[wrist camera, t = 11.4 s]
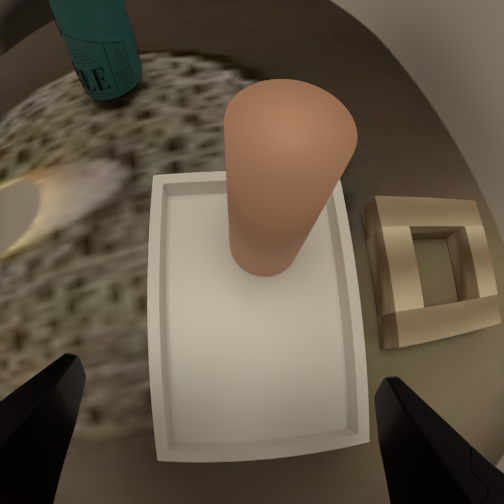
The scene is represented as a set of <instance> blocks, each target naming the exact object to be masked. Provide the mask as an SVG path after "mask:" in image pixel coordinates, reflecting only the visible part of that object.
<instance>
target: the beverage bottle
mask: <svg viewBox="0 0 504 504" xmlns="http://www.w3.org/2000/svg"><path fill="white" fill-rule="evenodd" d="M49 2H50V5H51V8H52V11H53V12H54V15H55V17H54V18H55V20H56V21H54V22H57V24H58V26H57V25H56V26H57V27H58V29H59V30H60V33H61V34H62V35H60V36H62V37H63V39H64V41H65V44H66V46H67V49H68V52H69V53H70V54H69V55H70V56H71V58H72V60H73V61H72V63H74V64H73V65H74V66H75V68H76V70H75V71H77V72H76V73H77V76H78V77H79V76H80V77H79V79H80V78H81V79H80V82H81V83H82V84H81V85H83V87H84V88H85V89H86V90H85V91H86V92H87V93H88V94H89V96H91V97H92V98H94V99H96V100H110V99H114V98H117V97H119V96H122V95H123V94H125V93H127V92H128V91H130V90H131V89H132V88H134V87H135V86H136V84H137V83H138V82H139V80H140V78H141V71H142V69H143V66H142V65H141V64H140V62H141V61H140V60H139V58H140V57H138V55H139V52H138V53H137V50H138V49H136V46H137V45H135V42H136V41H134V38H135V37H133V34H134V33H132V29H133V27H132V29H131V26H132V25H130V21H129V17H130V16H129V17H128V13H127V10H126V5H125V0H49ZM55 24H56V23H55ZM133 32H134V30H133ZM134 36H135V35H134ZM138 51H139V50H138ZM74 66H73V67H74ZM141 66H142V69H141ZM75 68H74V69H75ZM87 93H86V94H87Z"/></svg>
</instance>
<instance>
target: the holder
mask: <svg viewBox="0 0 504 504" xmlns="http://www.w3.org/2000/svg"><path fill="white" fill-rule="evenodd" d="M361 216H362V221H363V226H364V231H365V236H366V242H367V248H368V254H369V260H370V266H371V273H372V279H373V286H374V294H375V301H376V310H377V318H378V327H379V338H380V349H389V348H400V347H406V346H411V345H415V344H420V343H425V342H429V341H434V340H438V339H443V338H447V337H451V336H455V335H459V334H463V333H467V332H471V331H474V330H478V329H482V328H485V327H489V326H492V325H496V324H499V323H501V315H500V307H499V300H498V294H497V288H496V282H495V277H494V271H493V266H492V262H491V257H490V253H489V248H488V244H487V240H486V236H485V232H484V228H483V225H482V221H481V218H480V214H479V211H478V207H477V204H476V201H472V200H457V199H441V198H421V197H396V196H374V197H373V199H372V200H371V201H370V202H369V203H368V204H367V206H366V207H365V208H364V209H363V210H362V211H361ZM431 238H446V239H447V243H448V248H449V252H450V257H451V262H452V267H453V272H454V277H455V283H456V289H457V295H458V302H455V303H449V304H443V305H437V306H431V307H425V308H424V304H423V297H422V290H421V284H420V278H419V272H418V266H417V261H416V256H415V250H414V246H413V241H412V239H431Z"/></svg>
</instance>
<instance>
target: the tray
mask: <svg viewBox="0 0 504 504" xmlns="http://www.w3.org/2000/svg"><path fill="white" fill-rule="evenodd" d="M147 312H148V354H149V375H150V390H151V404H152V415H153V426H154V435H155V444H156V452H157V460H158V461H169V462H234V461H251V460H263V459H274V458H283V457H291V456H299V455H306V454H312V453H318V452H324V451H330V450H335V449H340V448H345V447H350V446H354V445H359V444H363V443H367V442H369V403H368V382H367V367H366V354H365V342H364V331H363V321H362V312H361V303H360V295H359V287H358V280H357V273H356V266H355V259H354V253H353V246H352V240H351V234H350V229H349V223H348V217H347V212H346V207H345V202H344V196H343V191H342V187H341V182H340V179H339V181H338V183H337V185H336V186H335V188H334V190H333V192H332V194H331V196H330V197H329V199H328V201H327V203H326V205H325V206H324V208H323V210H322V212H321V214H320V215H319V217H318V219H317V221H316V223H315V224H314V226H313V228H312V230H311V231H310V233H309V235H308V237H307V239H306V240H305V242H304V244H303V246H302V247H301V249H300V251H299V253H298V254H297V256H296V258H295V259H294V261H293V263H292V264H291V265H290V266H289V267H288V268H287V269H286V270H284V271H283V272H281V273H279V274H277V275H273V276H265V277H264V276H256V275H253V274H250V273H248V272H246V271H245V270H243V269H242V268H241V267H240V266H239V265H238V264H237V263H236V261H235V260H234V258H233V256H232V254H231V251H230V242H229V223H228V204H227V183H226V171H219V172H197V173H180V174H165V175H153V185H152V197H151V211H150V228H149V249H148V291H147Z"/></svg>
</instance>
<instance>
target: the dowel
mask: <svg viewBox="0 0 504 504" xmlns="http://www.w3.org/2000/svg"><path fill="white" fill-rule="evenodd" d="M224 135H225V160H226V183H227V204H228V223H229V242H230V251H231V254H232V256H233V258H234V260H235V261H236V263H237V264H238V265H239V266H240V267H241V268H242V269H243V270H245V271H246V272H248V273H250V274H253V275H256V276H264V277H265V276H273V275H277V274H279V273H281V272H283V271H284V270H286V269H287V268H288V267H289V266H290V265H291V264H292V263H293V261H294V259H295V258H296V256H297V254H298V253H299V251H300V249H301V247H302V246H303V244H304V242H305V240H306V239H307V237H308V235H309V233H310V231H311V230H312V228H313V226H314V224H315V223H316V221H317V219H318V217H319V215H320V214H321V212H322V210H323V208H324V206H325V205H326V203H327V201H328V199H329V197H330V196H331V194H332V192H333V190H334V188H335V186H336V185H337V183H338V181H339V179H340V177H341V175H342V173H343V172H344V170H345V168H346V166H347V164H348V162H349V160H350V158H351V157H352V155H353V153H354V150H355V148H356V144H357V129H356V126H355V122H354V120H353V118H352V116H351V114H350V113H349V111H348V110H347V109H346V107H345V106H344V105H343V104H342V103H341V102H340V101H339V100H338V99H337V98H335V97H334V96H333V95H331V94H330V93H328V92H327V91H325V90H323V89H321V88H319V87H317V86H314V85H312V84H309V83H306V82H302V81H297V80H290V79H273V80H266V81H262V82H258V83H255V84H252V85H250V86H248V87H246V88H244V89H243V90H241V91H240V92H239V93H238V94H236V95H235V96H234V98H233V99H232V100H231V101H230V103H229V105H228V106H227V109H226V111H225V116H224Z"/></svg>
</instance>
